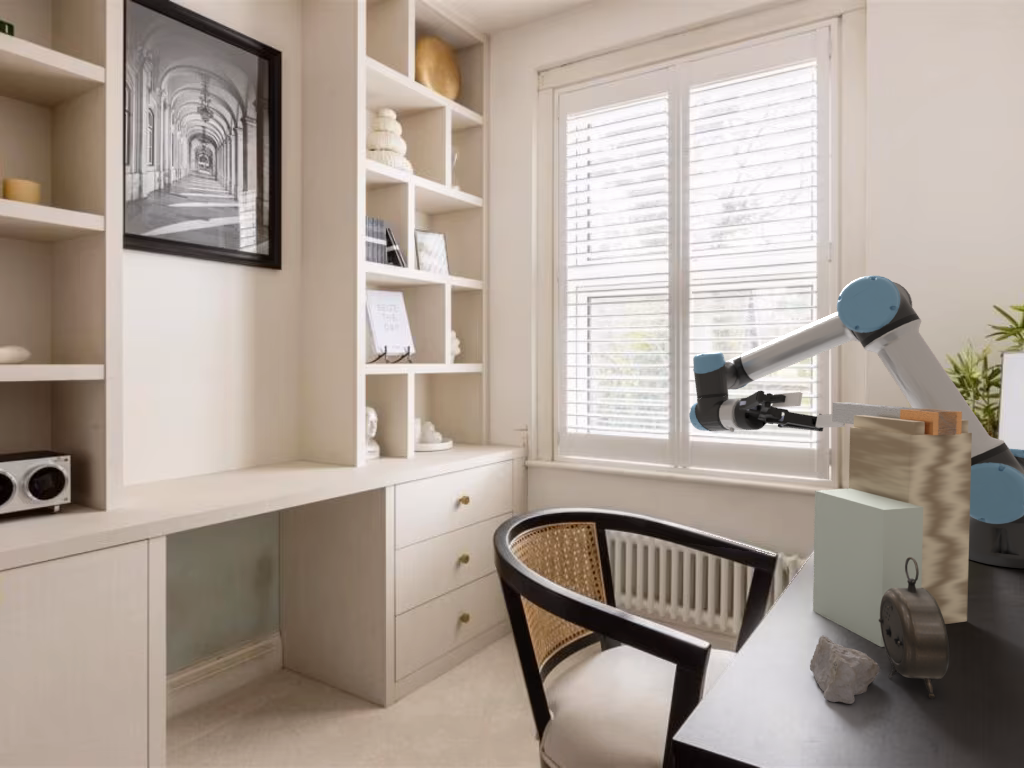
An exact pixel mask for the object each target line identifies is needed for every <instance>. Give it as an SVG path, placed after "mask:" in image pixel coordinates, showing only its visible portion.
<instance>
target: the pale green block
mask: <svg viewBox="0 0 1024 768" xmlns="http://www.w3.org/2000/svg"><path fill="white" fill-rule="evenodd" d="M813 521H814V522H813V523H814V524H813V526H814V529H813V530H814V533H813V536H814V537H813V538H814V539H813V585H812V586H813V588H812V590H813V595H812V598H813V599H812V602H813V603H812V611H813V612H814V613H816V614H819V616H822V617H823V618H826V619H828V620H829V621H831V622H834V623H835V624H837V625H839V626H841V627H843V628H845V629H846V630H848V631H850V632H852V633H854V634H855V635H858V636H860V637H862V638H863V639H866V640H867V641H869V642H871V643H872V644H875V645H876V646H879V647H880V648H885V646H884V642H883V638H882V633H881V626H880V622H879V619H880V605H881V600H882V597H883V595H884V594H885V592H886V591H887V590H889V589H891V588H908V582H907V580H908V578H907V576H906V572H905V562H906V559H907V558H908V557H913V558H914V559H915V560H916V562H917V564H918V569H919V575H918V580H917V581H916V584H915V587H916V588H921V583H922V540H923V507H922V506H918V505H914V504H910V503H906V502H902V501H898V500H894V499H890V498H886V497H882V496H878V495H874V494H870V493H866V492H863V491H859V490H855V489H851V488H850V489H849V488H838V489H837V488H836V489H820V490H814V520H813ZM907 570H908V574H909V578H913V579H915V578H916V568H915V564H914V562H913V560H911V559H910V560H909V562H908V565H907Z"/></svg>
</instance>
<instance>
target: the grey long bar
mask: <svg viewBox="0 0 1024 768" xmlns="http://www.w3.org/2000/svg"><path fill="white" fill-rule="evenodd" d="M831 409H832V411H831V412H832V413H831V414H832V422H839V423H845V424H847V425H854V415H867V416H876V417H885V418H895V419H904V420H913V421H923V422H925V432H924V434H926V435H955V434H961V430H962V412H961V411H949V410H938V409H919V408H912V407H907V406H905V407H904V406H895V405H883V404H871V403H860V402H858V403H857V402H850V401H849V402H832V407H831Z"/></svg>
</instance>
